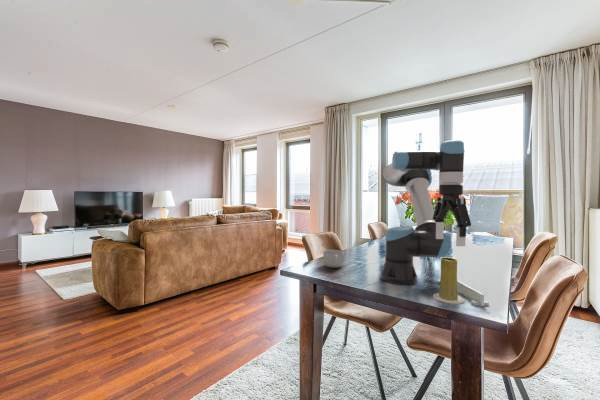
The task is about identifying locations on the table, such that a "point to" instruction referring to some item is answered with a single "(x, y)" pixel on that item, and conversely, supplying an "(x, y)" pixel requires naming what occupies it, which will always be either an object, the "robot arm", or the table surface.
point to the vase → (448, 279)
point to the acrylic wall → (471, 294)
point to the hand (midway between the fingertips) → (449, 242)
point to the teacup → (333, 258)
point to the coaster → (458, 301)
